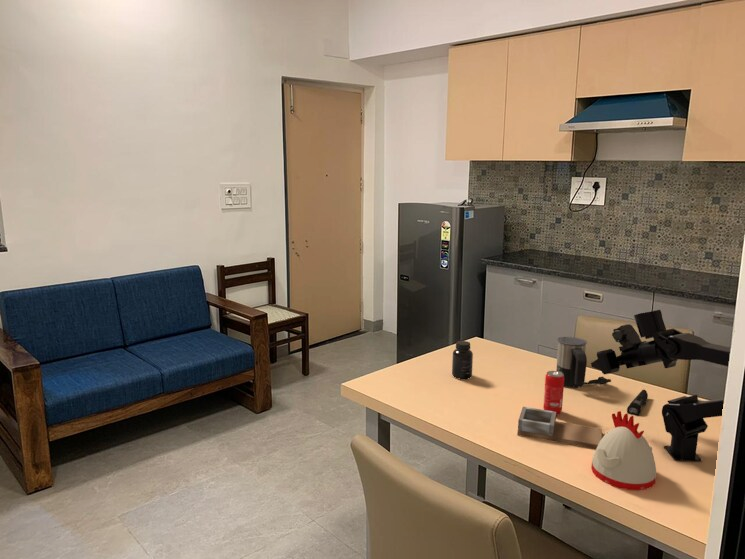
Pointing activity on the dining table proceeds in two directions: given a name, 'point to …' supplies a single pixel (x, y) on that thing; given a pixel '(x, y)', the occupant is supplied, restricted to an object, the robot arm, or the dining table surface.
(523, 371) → the dining table surface
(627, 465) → the kitchen timer
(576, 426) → the socket board
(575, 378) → the milk frother
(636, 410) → the electric trimmer
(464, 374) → the supplement bottle
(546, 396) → the beverage can
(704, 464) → the dining table surface
